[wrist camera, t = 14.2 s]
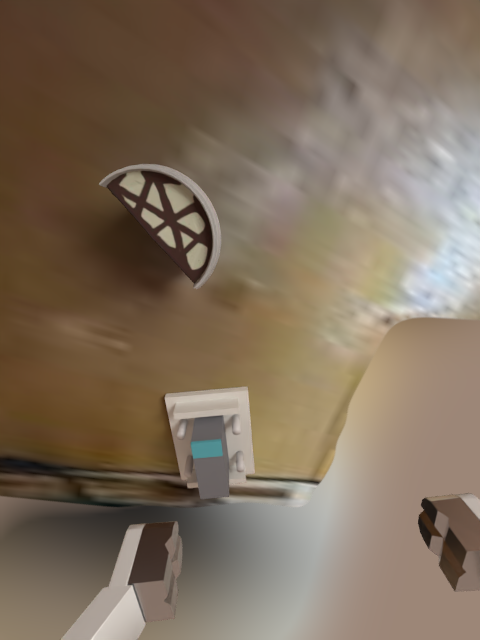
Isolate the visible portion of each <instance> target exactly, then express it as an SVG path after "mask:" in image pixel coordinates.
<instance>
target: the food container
mask: <svg viewBox="0 0 480 640" xmlns="http://www.w3.org/2000/svg"><path fill="white" fill-rule="evenodd" d="M99 185H101V186H103V187H106V188H108V189H109V190H110V191H111V192H112V194H113V195H114V196H115V197H117V199H118V200H119V201H120V202H121V203H122V204H123V205H124V206H125V207H126V208H127V210H128V211H129V212H130V213H131V214H132V215H133V216H134V218H135V219H136V220H137V221H138V222H139V223H140V224H141V226H142V227H143V228H144V229H145V230H146V231H147V233H148V234H149V235H150V236H151V237H152V239H153V240H154V241H155V242H156V243H157V244H158V245H159V246H160V247H161V248H162V249H163V250H164V251H165V252H166V253H167V254H168V255H169V256H170V257H171V259H172V260H173V261H174V262H175V263H176V264H177V265H178V266H179V267H180V268H181V270H182V271H183V272H184V273H185V274H186V275H187V276H188V277H189V278H190V279H191V281H192V282H193V283H194V286H193V288H196V289H198V288H200V287H201V286H202V285H203V284H204V283H205V282H206V281H207V280H208V278H209V277H210V276H211V274H212V272H213V270H214V268H215V266H216V264H217V261H218V258H219V255H220V248H221V231H220V224H219V220H218V217H217V214H216V211H215V209H214V207H213V205H212V203H211V201H210V200H209V198H208V197H207V195H206V194H205V192H204V191H203V190H202V189H201V188H200V187H199V186H198V185H197V184H196V183H195V182H194V181H192V180H191V179H190V178H189V177H187V176H186V175H184V174H182V173H180V172H179V171H177V170H174V169H171V168H169V167H166V166H161V165H156V164H140V165H133V166H128V167H125V168H122V169H119V170H117V171H115V172H113V173H111V174H110V175H108V176H107V177H105V178H104V179H103V180H102V181H101V182H100V184H99Z"/></svg>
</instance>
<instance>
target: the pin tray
mask: <svg viewBox="0 0 480 640" xmlns="http://www.w3.org/2000/svg"><path fill="white" fill-rule="evenodd" d="M165 402H166V407H167V412H168V417H169V422H170V427H171V431H172V436H173V441H174V446H175V451H176V456H177V460H178V465H179V470H180V475H181V480H187V486H188V488H196V487H198V482H197V477H196V471H195V466H194V460H193V455H192V449H191V444H190V443H191V437H192V431H193V425H194V419H195V418H198V417H209V416H220V415H223V416H224V424H225V432H226V440H227V449H228V457H229V484H239V483H246V474H255V469H254V457H253V445H252V433H251V422H250V410H249V398H248V387H236V388H225V389H214V390H203V391H192V392H181V393H170V394H166V395H165Z"/></svg>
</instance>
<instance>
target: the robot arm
mask: <svg viewBox="0 0 480 640" xmlns="http://www.w3.org/2000/svg"><path fill="white" fill-rule="evenodd" d="M421 506H422V508H423V509H424V511H423V512H422V513H421V514H420V515H419V519H418V524H419V529H420V533H421V535H422V537H423V539H424V541H425V543H426V545H427V546H428V548H429V549H430V550H431V551H432V552H434V553H435V554H436V555H438V556H439V566H440V568H441V570H442V571H443V573H444V574H445V576H446V578H447V580H448V581H449V583H450V584H451V586H452V588H453V589H454V591H455V592H458V591H475V590H480V500H479V499H478V498H477V497H476V496H474V495H473V494H470V493H466V494H458V495H444V496H435V497H427V498H424V499H423V500H422V503H421ZM178 530H179V527H178V523H177V521H175V522H162V523H149V524H136V525H130V526H129V528H128V529H127V531H126V534H125V537H124V540H123V543H122V546H121V549H120V552H119V556H118V558H117V562H116V564H115V568H114V570H113V574H112V577H111V580H110V583H109V586H108V587H105V588H102V590H101V591H100V592H99V593H98V594H97V596H96V597H95V598H94V599H93V601H92V602H91V603H90V604H89V605H88V607H87V608H86V609H85V610H84V612H83V613H82V614H81V615H80V616H79V618H78V619H77V620H76V621H75V623H74V624H73V625H72V626H71V627H70V628H69V630H68V631H67V632H66V633H65V635H64V636H63V637H62V638H61V639H60V640H137V639H138V637H139V636H140V634H141V632H142V630H143V629H144V627H145V622H152V621H160V620H168V619H174V618H175V611H176V603H177V596H178V587H177V583H176V579H177V577H178V576H179V574H180V573H181V566H182V551H183V549H182V540H181V537H180V536H179V535H178Z"/></svg>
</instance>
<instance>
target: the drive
mask: <svg viewBox="0 0 480 640" xmlns="http://www.w3.org/2000/svg"><path fill="white" fill-rule="evenodd" d="M190 444H191V449H192V455H193V460H194V466H195V471H196V477H197V482H198V488H199V493H200V499H209V498H219V497H229V457H228V449H227V440H226V432H225V424H224V416H223V415H220V416H209V417H198V418H195V419H194V425H193V431H192V437H191V443H190Z"/></svg>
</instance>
